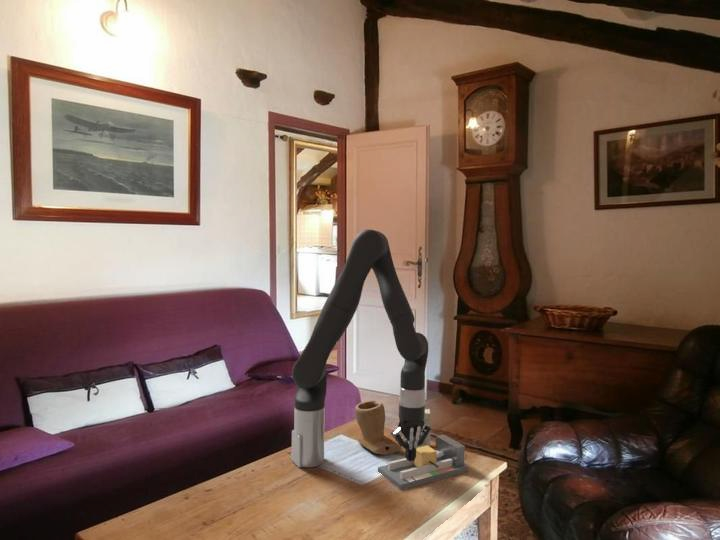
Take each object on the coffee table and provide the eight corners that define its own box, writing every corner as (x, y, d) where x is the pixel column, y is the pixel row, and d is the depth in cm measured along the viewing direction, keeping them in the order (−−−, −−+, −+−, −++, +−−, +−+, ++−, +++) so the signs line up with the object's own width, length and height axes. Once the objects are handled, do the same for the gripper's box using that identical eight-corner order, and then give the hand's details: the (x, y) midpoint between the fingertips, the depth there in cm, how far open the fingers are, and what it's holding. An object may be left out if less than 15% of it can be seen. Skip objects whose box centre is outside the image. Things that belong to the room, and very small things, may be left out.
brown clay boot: (348, 442, 175) (348, 399, 174) (379, 436, 181) (380, 394, 179) (369, 460, 162) (370, 413, 160) (402, 453, 167) (403, 408, 166)
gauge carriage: (430, 476, 148) (431, 459, 148) (413, 464, 156) (413, 448, 155) (455, 469, 153) (456, 453, 152) (437, 458, 160) (437, 442, 160)
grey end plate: (456, 467, 155) (457, 448, 154) (435, 454, 163) (436, 436, 163) (464, 465, 156) (464, 446, 156) (443, 452, 165) (443, 434, 164)
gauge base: (400, 490, 144) (400, 477, 144) (377, 472, 154) (378, 460, 154) (467, 471, 156) (468, 460, 155) (442, 455, 166) (442, 445, 166)
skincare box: (430, 444, 175) (431, 408, 174) (430, 450, 170) (431, 413, 169) (410, 443, 175) (411, 407, 174) (410, 448, 171) (411, 412, 170)
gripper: (422, 395, 158) (421, 451, 159) (385, 401, 151) (384, 459, 152) (438, 402, 151) (436, 460, 152) (400, 409, 145) (398, 470, 146)
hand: (410, 460), depth 152 cm, fingers closed
